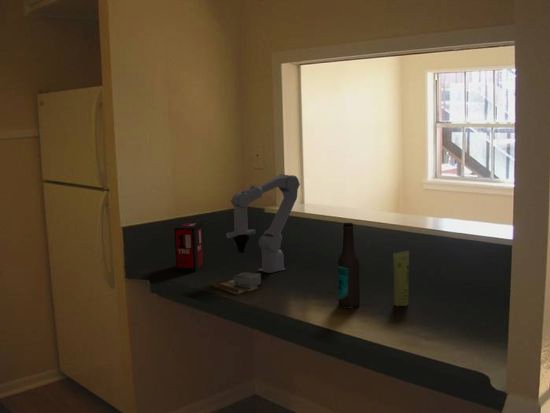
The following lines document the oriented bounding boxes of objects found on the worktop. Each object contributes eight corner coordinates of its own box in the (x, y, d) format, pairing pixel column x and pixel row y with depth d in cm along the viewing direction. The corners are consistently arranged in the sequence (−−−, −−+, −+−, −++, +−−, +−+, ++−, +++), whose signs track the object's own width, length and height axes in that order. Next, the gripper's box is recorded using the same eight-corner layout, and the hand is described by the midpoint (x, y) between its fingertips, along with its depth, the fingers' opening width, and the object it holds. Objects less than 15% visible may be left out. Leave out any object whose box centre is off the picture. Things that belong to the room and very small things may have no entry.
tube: (407, 308, 216) (407, 253, 213) (392, 307, 217) (392, 253, 215) (409, 303, 221) (409, 250, 218) (394, 302, 223) (394, 249, 220)
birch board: (233, 281, 258) (233, 277, 257) (258, 288, 246) (258, 283, 246) (212, 286, 251) (212, 282, 250) (236, 294, 239) (236, 289, 238)
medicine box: (261, 273, 250) (250, 277, 242) (261, 283, 250) (250, 289, 243) (244, 271, 253) (233, 276, 246) (244, 281, 254) (233, 286, 246)
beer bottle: (334, 304, 223) (333, 222, 218) (352, 301, 226) (352, 220, 221) (344, 310, 216) (344, 225, 211) (363, 306, 219) (363, 223, 214)
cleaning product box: (195, 272, 276) (193, 228, 274) (176, 271, 278) (174, 228, 275) (204, 263, 293) (203, 222, 290) (186, 263, 294) (184, 222, 291)
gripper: (248, 218, 272) (248, 248, 273) (221, 222, 262) (222, 253, 264) (258, 220, 266) (258, 251, 268) (231, 223, 257) (232, 255, 259)
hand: (241, 252), depth 266 cm, fingers closed
